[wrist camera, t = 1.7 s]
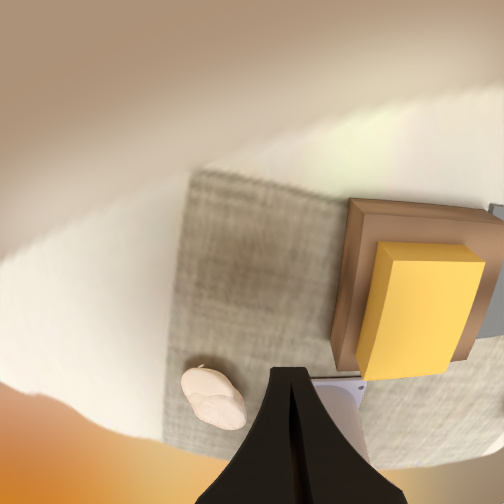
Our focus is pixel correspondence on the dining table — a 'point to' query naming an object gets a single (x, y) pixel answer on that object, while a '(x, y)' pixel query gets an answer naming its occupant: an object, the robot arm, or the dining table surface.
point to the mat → (495, 297)
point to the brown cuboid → (410, 231)
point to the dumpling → (214, 398)
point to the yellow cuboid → (416, 308)
